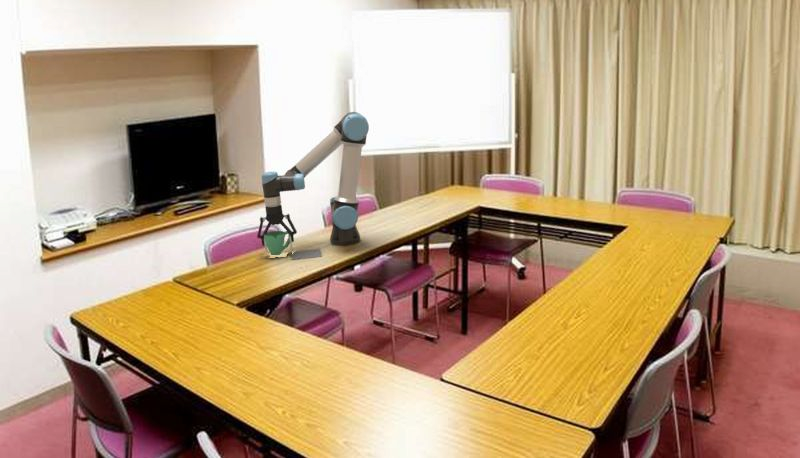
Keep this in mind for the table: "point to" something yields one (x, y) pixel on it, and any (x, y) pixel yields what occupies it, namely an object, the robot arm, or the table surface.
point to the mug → (276, 241)
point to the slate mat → (306, 254)
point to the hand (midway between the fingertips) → (279, 250)
